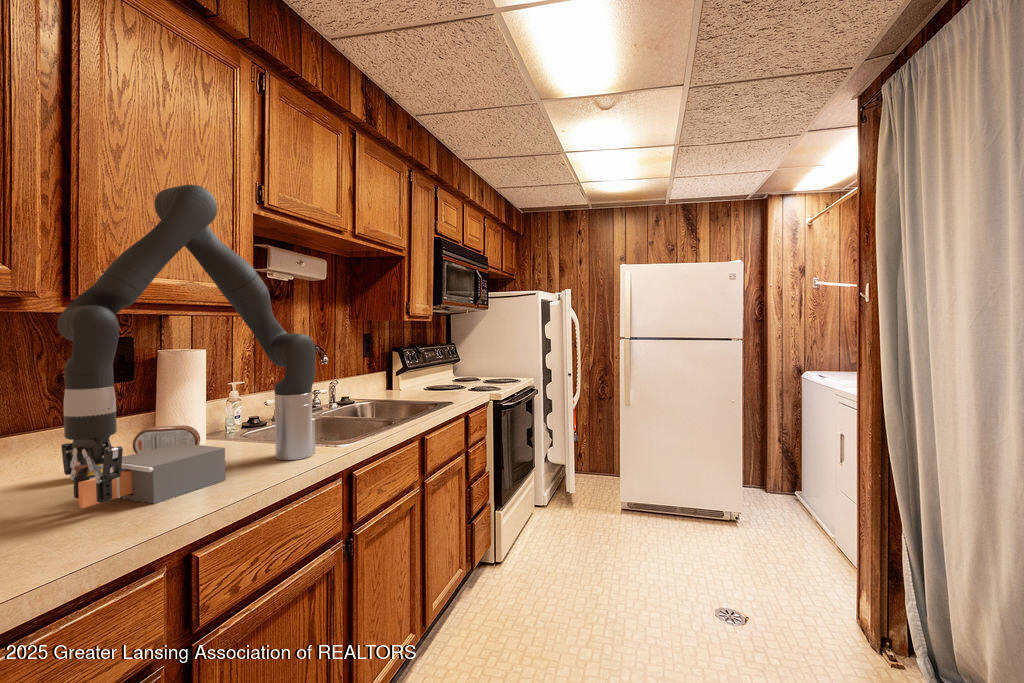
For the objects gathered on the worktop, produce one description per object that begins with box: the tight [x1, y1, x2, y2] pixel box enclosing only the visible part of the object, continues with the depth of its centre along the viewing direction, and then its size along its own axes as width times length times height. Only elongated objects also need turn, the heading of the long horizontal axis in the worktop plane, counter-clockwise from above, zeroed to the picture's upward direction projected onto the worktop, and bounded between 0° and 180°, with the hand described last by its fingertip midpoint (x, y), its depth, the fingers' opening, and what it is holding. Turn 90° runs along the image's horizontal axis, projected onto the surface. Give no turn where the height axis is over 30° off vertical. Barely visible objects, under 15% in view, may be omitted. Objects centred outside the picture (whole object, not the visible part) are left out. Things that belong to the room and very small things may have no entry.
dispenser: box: [101, 443, 226, 504], centre depth 107 cm, size 17×14×8 cm
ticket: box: [78, 470, 133, 509], centre depth 100 cm, size 18×1×5 cm, turn 160°
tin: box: [132, 424, 201, 454], centre depth 133 cm, size 15×3×8 cm, turn 111°
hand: (93, 498), depth 94 cm, fingers open, 6 cm apart
